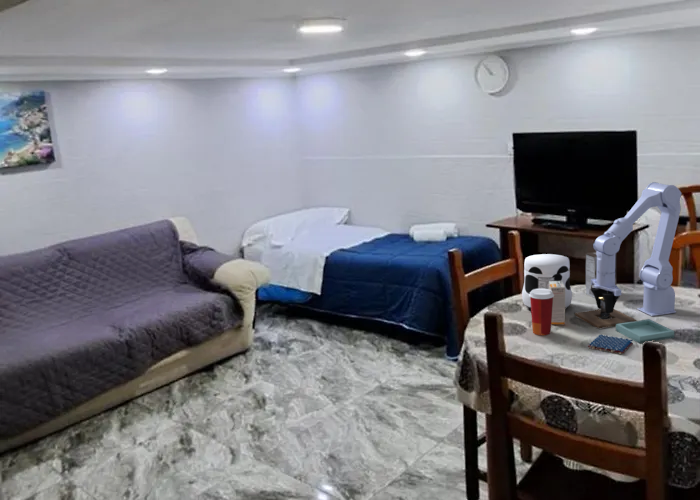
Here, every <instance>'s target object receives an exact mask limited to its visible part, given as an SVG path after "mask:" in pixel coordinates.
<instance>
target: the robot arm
mask: <svg viewBox="0 0 700 500" xmlns="http://www.w3.org/2000/svg"><path fill="white" fill-rule="evenodd" d="M682 195H683V193H682V192H681V190H680V189H679V187H677V185H675V184H664V183H659V182H655V181H652V182H650V183H648V184H647V186H646V187H645V188H644V189H643V190H642V191H641V196H640V197H639V199H637V201H636V202H634V203H635V204H634V205H633V206H632V207H631V209H630V210H629V211H628V212H627V213H626V215H625V216H624V217H620V218H617V219H615V220H614V221H613V224H612V225H611V226H610V227H609V228H608V229H607V230H606V231H604V233H603V234H602V235H599V236H598V237H597V238H596V239H595V241H594V242H593V244H592V245H593V247H592V248H593V249H594V250H595V252H596V255H597V279H591V285H594V288H591V291H592V292H593V294H594V297H595V298H594V297H593V298H594V299H595V303H596V307H597V310H598V309H600V305H601V300H600V299H598V296H599V295H603V298H604V301H605V310H606V313H613V310H614V309H615V306H616V303H617V301H618V300H619V298H620V297H621V296H622V289H620V288H619V286H617V284H616V285H615V253H616V254H617V253H619V251H620V249H621V248H620V247H621V244H622V242H623V241H624V240H625V239H626V238H627V237H628V235H630V234H631V232H632V231H633V229H634V225H633V224H635V223H636V222H637V221H638V220H639V219H640V218H641V217H642V216H643V215H644V214H645V213H647V211H649V209H650V208H655V207H657V209H659V211H660V212H661V214H660V216H659V221H658V225H657V230H656V234H655V238H654V242H653V248H652V251H651V256H650V257H649V258H647V259H646V260H645V261H644V263H643V266H642V268H641V269H640V271H639V273H638V274H639V279H640V280H641V282H642V286H643V302H642V303H643V305H642V307H637V310H638V311H640V312H642V313H644V314H647V315H648V316H651V317H655V316H662V315H667V314H675V313H677V311H676V310H675V307H676V306H675V305H676V304H675V302H676V292H675V289H674V288H673V286H672V283H673V281H674V280H673V279H674V278H673V270H674V269H673V265H671V263H670V261H669V260H670V255H671V251H672V247H673V243H674V239H675V235H676V230H677V227H678V223H679V218H680V214H681V211H682V208H681V207H682V206H681V201H680V200H681V197H682ZM607 292H608V293H607Z"/></svg>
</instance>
